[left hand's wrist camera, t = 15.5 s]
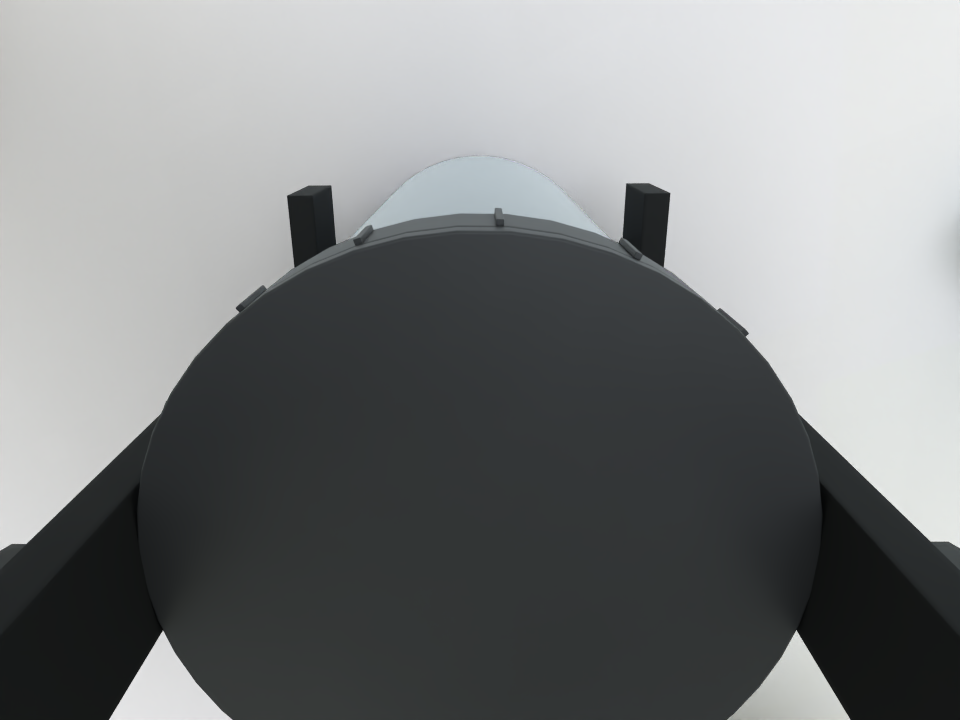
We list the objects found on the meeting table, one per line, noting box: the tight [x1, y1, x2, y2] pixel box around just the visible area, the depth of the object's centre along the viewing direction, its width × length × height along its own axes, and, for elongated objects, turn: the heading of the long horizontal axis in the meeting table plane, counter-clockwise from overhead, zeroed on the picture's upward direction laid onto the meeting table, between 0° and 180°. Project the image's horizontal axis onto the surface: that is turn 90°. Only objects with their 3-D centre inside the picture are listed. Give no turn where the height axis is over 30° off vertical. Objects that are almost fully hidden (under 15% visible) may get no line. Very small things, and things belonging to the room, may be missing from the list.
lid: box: [137, 208, 823, 720], centre depth 11 cm, size 11×11×2 cm
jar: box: [350, 156, 610, 239], centre depth 20 cm, size 10×10×19 cm
